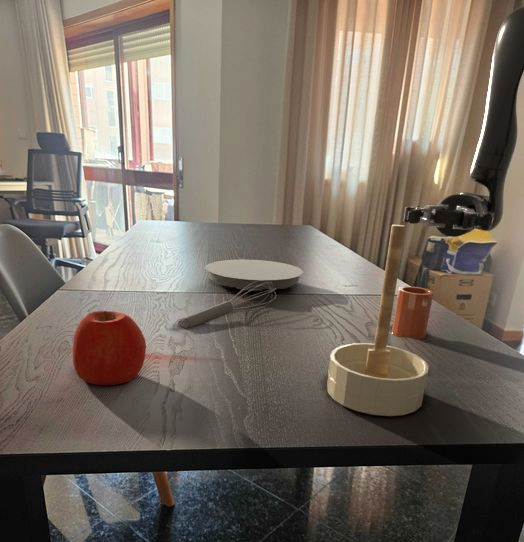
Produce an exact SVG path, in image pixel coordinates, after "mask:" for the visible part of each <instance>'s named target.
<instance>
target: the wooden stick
mask: <svg viewBox="0 0 524 542" xmlns="http://www.w3.org/2000/svg"><path fill="white" fill-rule="evenodd" d="M405 233H406V225H403V224H392V225H391V227H390V235H389V242H388V248H387V255H386V262H385V269H384V276H383V282H382V288H381V296H380V302H379V307H378V316H377V322H376V329H375V335H374V341H373V344H374V348H373V349H368V354H367V360H366V367H365V374H364V375H368V376H373V377H378V378H387V373H388V367H389V361H390V355H391V352H390V350H386V346H388V341H389V340H388V339H389V334H390V328H391V321H392V314H393V310H394V309H393V308H394V302H395V295H396V289H397V284H398V277H399V271H400V264H401V258H402V252H403V245H404V239H405Z"/></svg>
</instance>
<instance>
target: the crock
mask: <svg viewBox="0 0 524 542" xmlns="http://www.w3.org/2000/svg"><path fill="white" fill-rule="evenodd" d="M434 294H435V293H434V291H433V290H431V289H427V288H424V287H419V286H400V287H399V288H398V290H397V295H396V296H397V297H396V303H395V309H394V316H393V320H392V327H391V334H393V335H394V336H396V337H398V338H406V339H419V340H420V339H421V340H423V339H425V338H426V335H427V331H428V324H429V319H430V314H431V309H432V304H433V298H434Z"/></svg>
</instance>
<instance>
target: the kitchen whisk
mask: <svg viewBox="0 0 524 542" xmlns="http://www.w3.org/2000/svg"><path fill="white" fill-rule="evenodd" d="M260 281H263V280H260ZM256 282H257V281H256ZM264 282H266V281H264ZM253 283H254V282H253ZM266 283H267V284H268V283H269V282H266ZM270 283H272V282H270ZM251 284H252V283H251ZM251 284H249V285H251ZM263 284H265V283H263ZM249 285H248V286H249ZM268 285H269V284H268ZM255 286H257V287H258V286H263V285H262V284H261V285H255ZM272 286H273V284H272ZM246 287H247V286H246ZM246 287H245V288H246ZM251 287H252V286H251ZM265 287H267V286H265ZM269 287H270V286H269ZM269 287H268V288H269ZM245 288H244V290H243V289H242V290H241V289H240V291H239V292H238V293H236V294H235V295H234V297H232V298H231V299H230V300H229V301H228V300H226V301H224V302H221V303H219V304H216V305H213V306H211V307H209V308H206V309H203V310H201V311H198V312H196V313H193V314H190V315H188V316H185V317H183V318H179V319H178V320H176V321H175V322H174V323H173V326H175V325H176V323H177V326H178V327H181V328H185V329H189V328H192V327H195V326H198V325H201V324H207V323H210V322H211V321H214V320H216V319H219V318H221V317H223V316H226V315H228V314H231V313H232V312H233V311H237V312H238V311H241V312H244V311H248V309H249V308H252V307H256V306H262V305H264V304H266V305H264V306H262V307H258V308H253V309H251V311H256V310H259V309H264V308H266V306H268V305H270V303H271V302H273V301H274V300H276V298H277V296H275V297H274V298H273V296H271V297H270V300H269V301H267V302H264V303H262V302H263V301H265V300H267V297H268V296H269V295H270V294H271V295H273V293H274V294H275V295H277V293H276V292H275V290H277V289H276V288H275V289H272V288H269V289H266V290H264V291H261V292H257V293H256V294H253V295H250V296H248V297H245V298H243V299H241V300H238V299H240V298H241V297H242V296H245V295H246V294H247V293H249V292H252V291H251V290H253V289H254V288H253V289H251V290H250V291H248V290H246V289H247V288H246V289H245ZM248 288H250V287H248ZM255 288H256V287H255ZM244 291H247V292H244ZM242 292H244V293H243V294H241V293H242ZM262 293H263V294H262ZM239 294H241V295H240V296H239V297H238V298H236V297H237V296H238V295H239ZM256 295H257V296H256ZM263 295H267V296H266V297H264V299H263V300H262V301H259V302H258V303H256V304H254V305H250V306H241V307H239V309H237V307H235V306H237V305H239V304H243V303H245V302H247V301H250V300H254V299H256V298H258V297H262V296H263ZM251 297H252V298H251ZM235 298H236V299H235ZM237 300H238V301H237ZM236 301H237V302H236ZM173 330H175V328H173Z"/></svg>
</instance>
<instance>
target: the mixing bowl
mask: <svg viewBox="0 0 524 542" xmlns="http://www.w3.org/2000/svg"><path fill="white" fill-rule="evenodd" d="M373 348H374V343H370V342H357V343H356V342H355V343H348V344H343V345H340V346H337V347H336V348H334V349H333V350H332V351H331V352H330V355H329V364H328V372H327V382H326V389H327V393H328V394H329V396H330V398H332V399H333V401H335V402H337V403H338V404H340V405H341V406H343V407H345V408H348V409H350V410H353V411H355V412H359V413H363V414H368V415H373V416H383V417H385V416H386V417H396V416H405V415H408V414H411V413H414V412H416V411H417V410H418V409H420V408H421V407H422V404H423V399H424V394H425V389H426V384H427V380H428V374H429V368H430V366H429V364H428V363H427V361H426V360H424V359H423V358H422V357H420V356H419V355H417V354H415V353H413V352H411V351H409V350H406V349H403V348H400V347H396V346H393V345H387V346H386V350H390V352H391V355H390V361H389V367H388V373H387V378H378V377H373V376H368V375H364V374H365V367H366V360H367V354H368V349H373Z"/></svg>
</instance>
